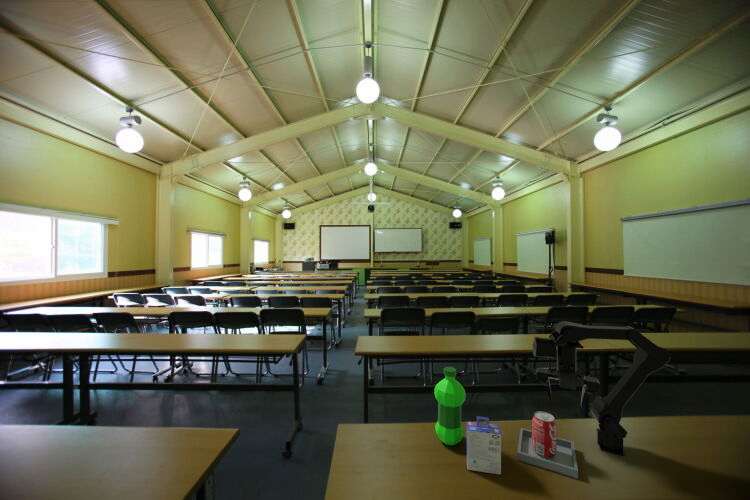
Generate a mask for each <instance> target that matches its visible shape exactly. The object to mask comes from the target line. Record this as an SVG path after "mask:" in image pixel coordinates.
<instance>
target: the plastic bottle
mask: <svg viewBox="0 0 750 500" xmlns="http://www.w3.org/2000/svg"><path fill="white" fill-rule="evenodd" d="M443 375H444V376H445V378H443V379H441V380H440V381H439V382H438V383H437V384H435V387H434V391H433V392H434V393H433V394H434V396H435V397H434V398H435V399H436V400H437V421H436V422H435V426H434V430H435V433H436V435H437V438H438V439H439V441H441V442H442V443H443V444H445V445H447V446H455V445H457V444H459V443H460V442H461V441H462V440H463V437H464V435H465V428H464V425H463V424H462V421H463V420H462V413H463V412H462V408H463V406H462V405H463V404H464V402H465V400H466V396H467V395H466V394H467V393H466V390H465V388H464V387H463V386H462V384H461V383H460V382H459V381H458V380H457V379H455V378H456V376H457V369H456V368H455V367H453V366H445V367H444V368H443ZM460 422H461V423H460Z"/></svg>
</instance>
